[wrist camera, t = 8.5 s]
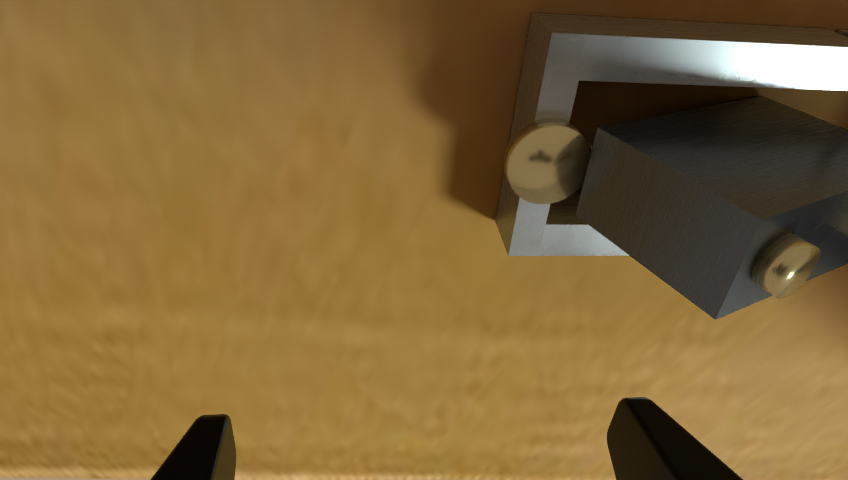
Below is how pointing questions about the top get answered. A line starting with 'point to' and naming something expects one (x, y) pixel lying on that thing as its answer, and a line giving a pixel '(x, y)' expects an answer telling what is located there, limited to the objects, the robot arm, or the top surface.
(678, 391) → the top surface
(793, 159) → the block with brass studs
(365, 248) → the top surface
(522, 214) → the end link
